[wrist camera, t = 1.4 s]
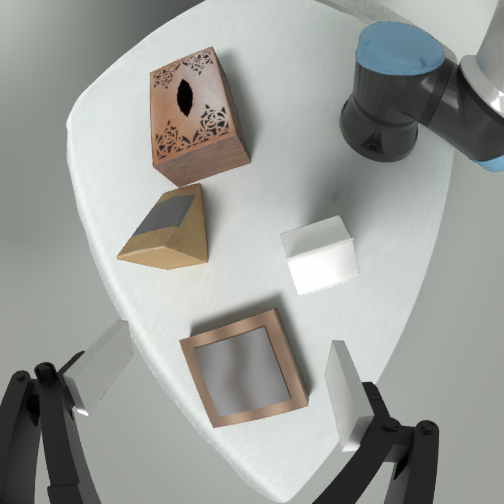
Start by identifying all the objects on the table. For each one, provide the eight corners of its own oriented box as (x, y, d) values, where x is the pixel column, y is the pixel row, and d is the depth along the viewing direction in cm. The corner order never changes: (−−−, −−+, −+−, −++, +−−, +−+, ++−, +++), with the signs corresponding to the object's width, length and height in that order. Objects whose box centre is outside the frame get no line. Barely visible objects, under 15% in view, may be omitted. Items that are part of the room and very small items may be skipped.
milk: (340, 284, 42) (368, 273, 21) (303, 296, 43) (297, 297, 22) (328, 247, 43) (343, 203, 22) (292, 259, 44) (275, 225, 23)
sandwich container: (202, 181, 50) (163, 142, 36) (210, 262, 47) (167, 247, 33) (162, 193, 52) (116, 161, 37) (167, 270, 49) (114, 258, 34)
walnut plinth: (276, 308, 43) (272, 309, 39) (308, 397, 40) (308, 406, 36) (189, 337, 46) (178, 340, 42) (220, 419, 42) (212, 428, 38)
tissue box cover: (250, 163, 49) (236, 134, 39) (179, 188, 51) (153, 166, 42) (225, 75, 54) (212, 46, 44) (169, 97, 57) (150, 72, 47)
